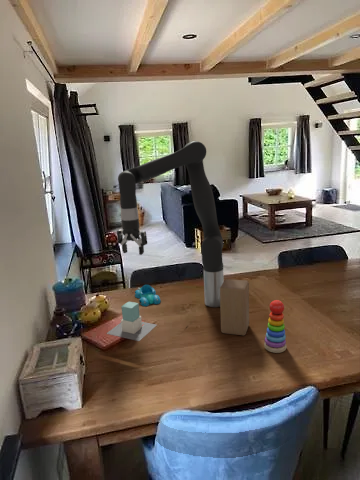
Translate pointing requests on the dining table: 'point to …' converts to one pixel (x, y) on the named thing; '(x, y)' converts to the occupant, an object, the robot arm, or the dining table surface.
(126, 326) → the cream brick
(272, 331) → the stacking toy
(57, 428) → the dining table surface
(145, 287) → the toy car
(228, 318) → the block
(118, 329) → the board
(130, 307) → the teal brick
